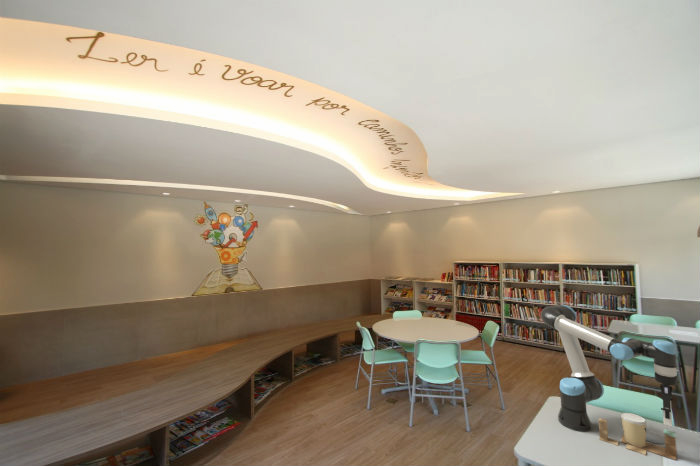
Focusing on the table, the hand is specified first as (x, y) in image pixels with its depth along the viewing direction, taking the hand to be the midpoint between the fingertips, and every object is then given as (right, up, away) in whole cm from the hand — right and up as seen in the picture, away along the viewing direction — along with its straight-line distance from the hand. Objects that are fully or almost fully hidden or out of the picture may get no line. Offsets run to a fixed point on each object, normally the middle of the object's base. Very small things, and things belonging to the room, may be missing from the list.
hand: (667, 419), depth 144 cm
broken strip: (-16, -17, +6) cm, 24 cm away
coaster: (+4, -17, +13) cm, 22 cm away
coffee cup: (-8, -17, +8) cm, 20 cm away
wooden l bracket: (-5, -17, +4) cm, 18 cm away
